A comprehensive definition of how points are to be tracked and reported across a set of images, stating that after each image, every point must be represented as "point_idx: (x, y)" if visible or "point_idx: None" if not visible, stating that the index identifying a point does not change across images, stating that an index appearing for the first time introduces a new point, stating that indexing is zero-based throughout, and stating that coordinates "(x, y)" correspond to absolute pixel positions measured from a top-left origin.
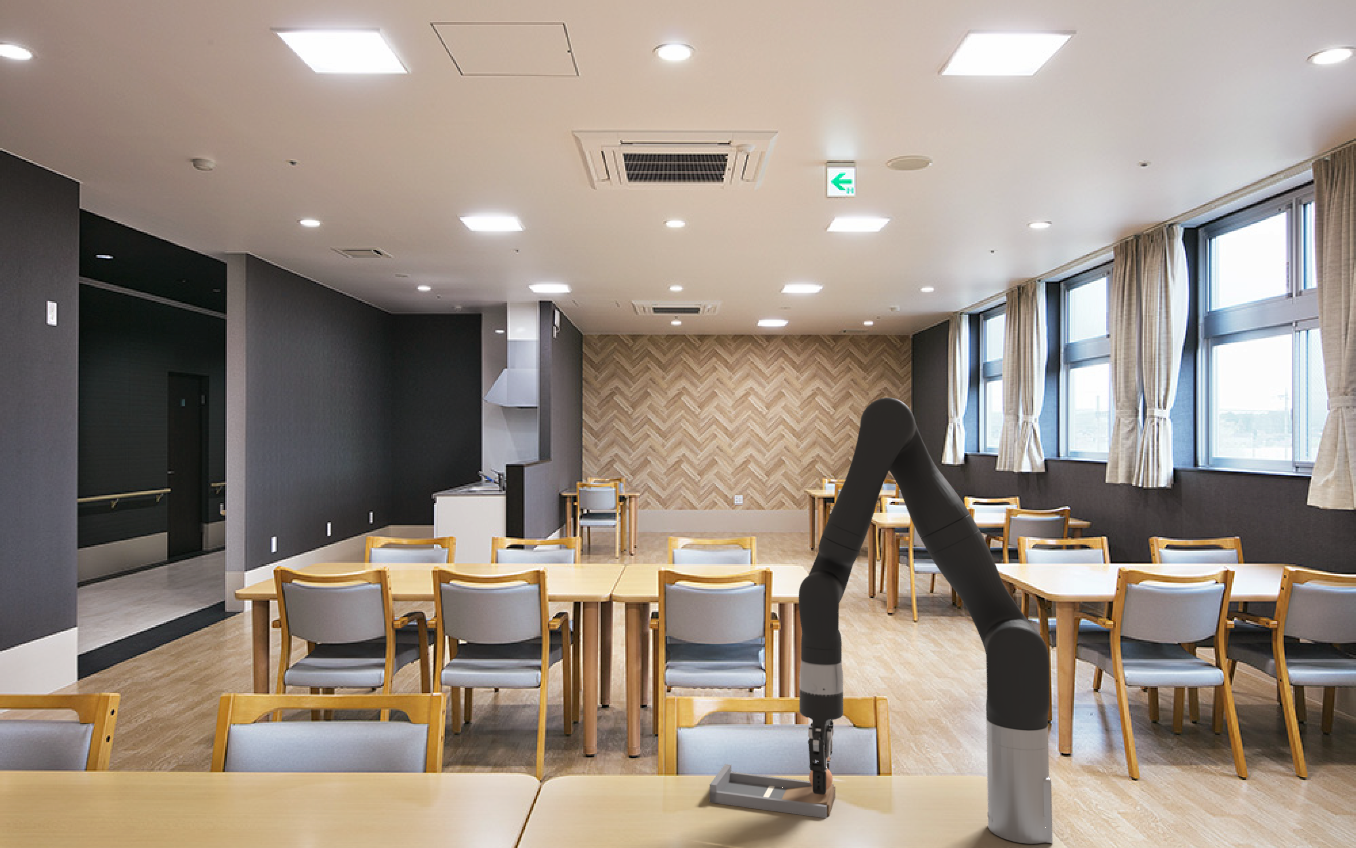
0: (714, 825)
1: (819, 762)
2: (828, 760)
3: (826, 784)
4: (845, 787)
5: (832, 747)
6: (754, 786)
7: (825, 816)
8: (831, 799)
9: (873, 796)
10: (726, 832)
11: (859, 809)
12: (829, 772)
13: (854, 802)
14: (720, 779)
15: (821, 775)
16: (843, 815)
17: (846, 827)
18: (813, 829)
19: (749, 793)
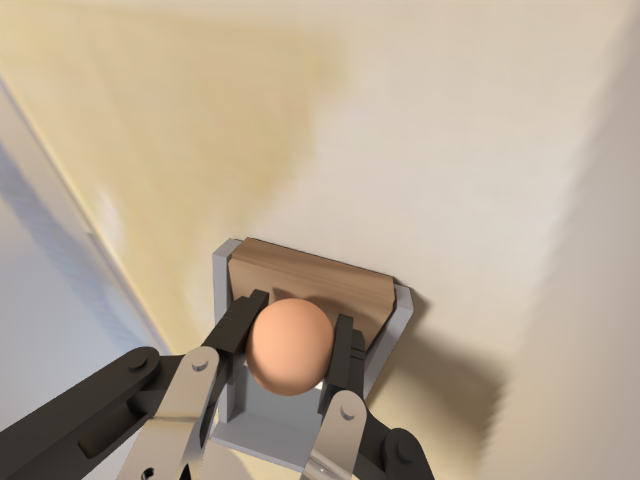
0: (430, 452)
1: (226, 378)
2: (218, 366)
3: (331, 330)
4: (153, 192)
5: (169, 435)
6: (249, 384)
7: (409, 292)
8: (337, 280)
9: (188, 102)
10: (465, 447)
11: (319, 175)
12: (294, 348)
13: (263, 182)
14: (297, 466)
15: (361, 394)
16: (374, 234)
17: (473, 242)
18: (474, 324)
19: (287, 397)
